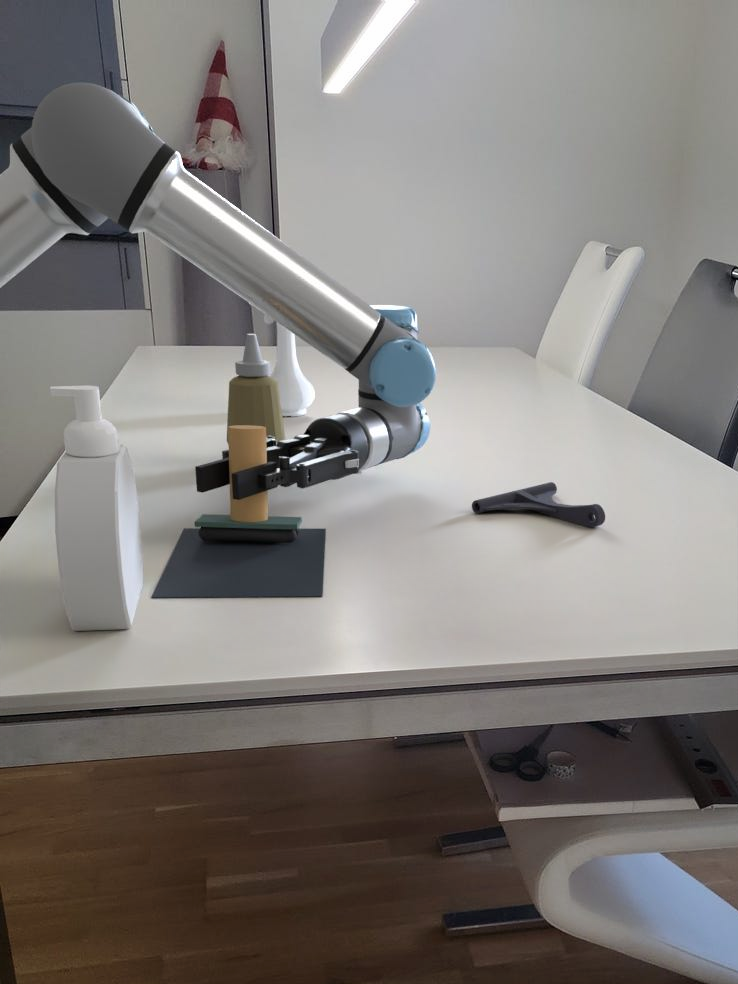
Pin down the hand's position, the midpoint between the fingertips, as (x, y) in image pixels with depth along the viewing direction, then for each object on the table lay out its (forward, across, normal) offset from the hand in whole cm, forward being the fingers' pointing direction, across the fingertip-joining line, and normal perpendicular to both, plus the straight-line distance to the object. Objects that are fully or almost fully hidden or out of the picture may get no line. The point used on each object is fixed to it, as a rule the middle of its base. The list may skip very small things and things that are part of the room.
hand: (217, 483), depth 108 cm
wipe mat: (+1, -4, -8) cm, 9 cm away
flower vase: (-65, +40, -8) cm, 76 cm away
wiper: (-4, 0, -7) cm, 8 cm away
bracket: (-34, -24, -8) cm, 42 cm away
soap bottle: (+18, -2, -8) cm, 20 cm away
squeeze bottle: (-32, +21, -8) cm, 39 cm away
